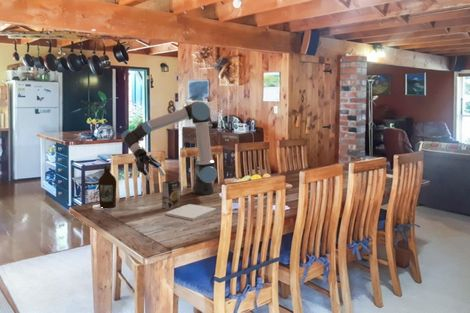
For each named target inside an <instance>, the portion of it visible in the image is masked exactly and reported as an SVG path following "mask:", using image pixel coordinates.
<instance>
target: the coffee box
mask: <svg viewBox="0 0 470 313" xmlns="http://www.w3.org/2000/svg"><path fill="white" fill-rule="evenodd" d="M180 184H181V183H180V181H178V180H174V179H173V180H167V181H163V182H162V191H161V192H162V195H161V196H162V198H161V200H162V201H161V202H162V204H161V207H162V209H166V210H174V209H176V208H179V207H180V205H181V204H180V195H181V194H180V193H181V192H180V190H181V186H180Z"/></svg>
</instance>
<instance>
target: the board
mask: <svg viewBox="0 0 470 313" xmlns="http://www.w3.org/2000/svg"><path fill="white" fill-rule="evenodd" d="M213 211H214V212H216V211H217V208H215V207H209V206H204V205H198V204H193V203H188V204H185V205H181V206H179V207H176V208H173V209H170V210H168V211H166V212H164V215H165V216H169V217H175V218H180V219H186V220H190V221H195V220H197V219H199V218H202V217H204V216H206V215H209V214H212V213H213Z"/></svg>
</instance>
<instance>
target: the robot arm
mask: <svg viewBox="0 0 470 313" xmlns="http://www.w3.org/2000/svg"><path fill="white" fill-rule="evenodd" d="M210 115H211V108H210V106H209V104H208V103H206V102H204V101H199V100H198V101H194V102H192V103H190V104H188V105H185V106H183V107H182V109H178V110H176V111H173V112H169V113H167V114H164V115H161V116H158V117H156V118H153V119H150V120H147V121H144V122H140V123H138V124H137V125H136V128H134V129H133V130H131V129H126V130H124V131H123V132H122V133H121V135H120V137H121V139H122V141H123V143H125V145H126V146H127V148H128V149H129V150H130V152H131V153H132V154H133V156H134V157H135V159H134V162H135V163H136V168H137V172H140V174H143V175H144V176H145V178H146V179H147V181H150V180H151V179H152V176H151V174H150V173H149V172H148V170H147V169H146V168H145V164H148V165H152V166H153V167H155V168H156V171H158V173H159V174H160V175H161V176H162V177H163V178H164V176H165V175H166V172H165V170H163V168H162V167H161V166H162V165H163V164H162V163H161V162H160V161H159V160H157V159H156V158H155V157H153V155H152V154H149V155H148V153H147V151H146V149H145V148H144V146H143V145H142V144H141V142H140V141H141V140H142V139H143V138H145V137H146V136H147V135H149V134H150V133H151V132H153V131H157V130H160V129H163V128H165V127H168V126H170V125H171V126H172V125H174V124H177V123H180V122H183V121H186V120H188V121H190V120H191V121H192V124H193V125H194V126H195V134H196V135H195V136H196V143H197V152H198V153H197V154H198V160H196V161H195V163H194V165H195V167H194V168H195V170H194V172H195V174H194V176H195V182H194V185H193V187H192V188H193V189H192V193H193V194H195V195H199V196H200V195H202V196H205V195H206V196H207V195H212V194H215V188H214V185H213V182H214V181H215V180H216V179H217V177H218V171H217V169H216V162H215V160H214V159H213V157H212V156H213V155H212V147H211V137H210V129H209V127H210V126H209V124H210V122H211V118H210V117H211V116H210Z"/></svg>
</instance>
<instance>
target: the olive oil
mask: <svg viewBox="0 0 470 313" xmlns="http://www.w3.org/2000/svg"><path fill="white" fill-rule="evenodd" d="M97 185H98V194H99V195H98V196H99V197H98V198H99V208H101V207H103V208H102V209H105V208H107V209H113V208H116V206H117V179H116V177H115V176H114V175H113V174H112V173H111V166H110V165H107V166H104V167H103V173H102V174H101V176H99V178H98V182H97Z"/></svg>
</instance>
